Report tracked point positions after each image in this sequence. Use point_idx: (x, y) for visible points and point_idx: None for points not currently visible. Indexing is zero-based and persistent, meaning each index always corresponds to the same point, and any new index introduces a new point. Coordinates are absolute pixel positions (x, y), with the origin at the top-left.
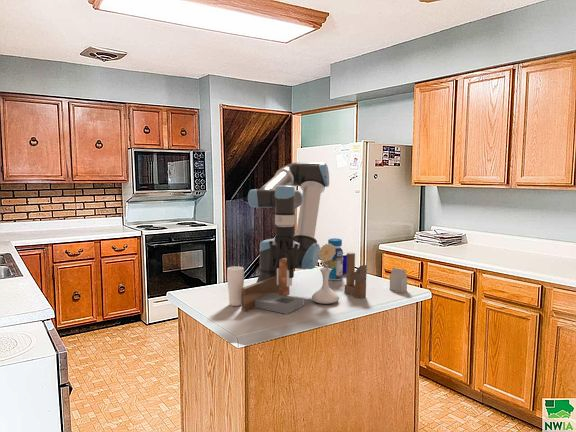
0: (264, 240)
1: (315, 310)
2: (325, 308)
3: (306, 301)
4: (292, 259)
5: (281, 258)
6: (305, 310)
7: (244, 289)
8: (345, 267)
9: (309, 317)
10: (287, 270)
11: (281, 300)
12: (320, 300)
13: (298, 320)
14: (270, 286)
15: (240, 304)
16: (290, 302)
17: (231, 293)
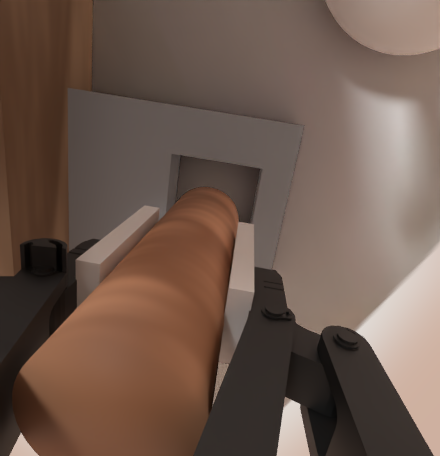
0: None
1: (383, 161)
2: (434, 100)
3: (282, 8)
4: (276, 432)
5: (25, 391)
6: (330, 183)
7: None
8: None
9: (378, 271)
10: (226, 358)
11: (174, 162)
12: (407, 50)
13: (341, 321)
14: (38, 112)
15: None
16: (259, 230)
17: None
